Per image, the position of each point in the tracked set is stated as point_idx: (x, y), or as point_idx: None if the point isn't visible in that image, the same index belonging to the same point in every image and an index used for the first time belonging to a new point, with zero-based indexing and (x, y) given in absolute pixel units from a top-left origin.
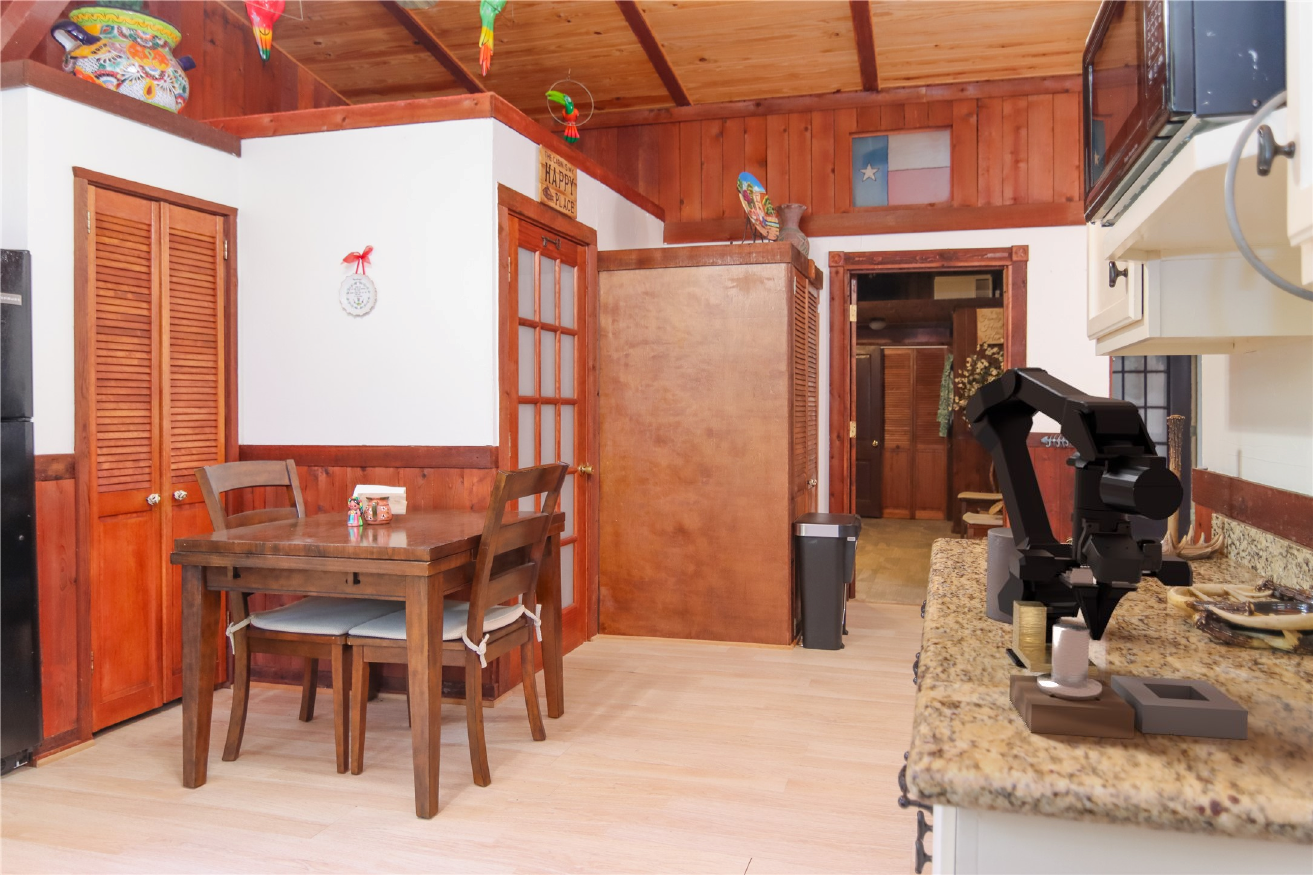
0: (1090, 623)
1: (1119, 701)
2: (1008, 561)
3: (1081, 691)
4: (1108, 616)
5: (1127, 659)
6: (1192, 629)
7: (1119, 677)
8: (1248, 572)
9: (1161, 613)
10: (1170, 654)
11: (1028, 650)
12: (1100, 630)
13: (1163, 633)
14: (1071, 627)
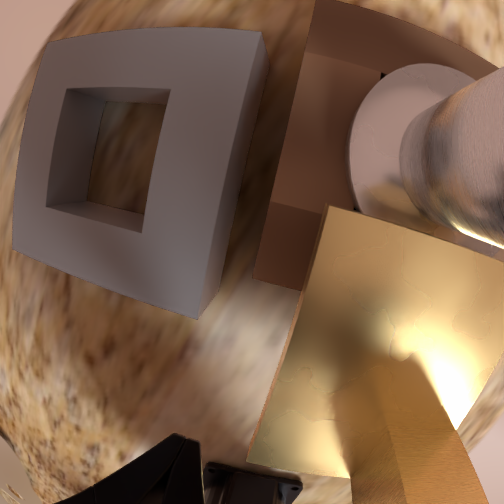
0: (199, 492)
1: (324, 55)
2: None
3: (453, 70)
4: (108, 487)
5: (95, 455)
6: (25, 470)
7: (182, 295)
8: (3, 497)
9: (46, 500)
10: (45, 442)
11: (447, 413)
12: (163, 457)
13: (47, 479)
14: None
